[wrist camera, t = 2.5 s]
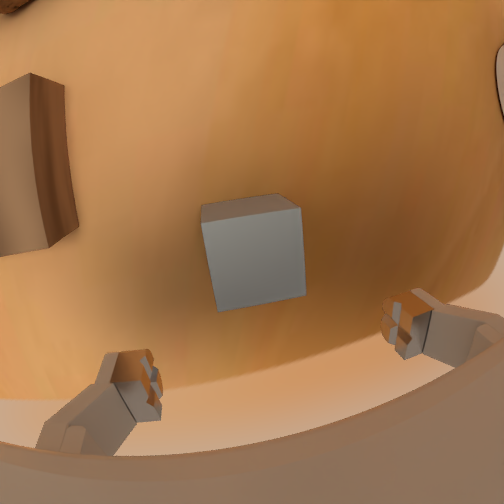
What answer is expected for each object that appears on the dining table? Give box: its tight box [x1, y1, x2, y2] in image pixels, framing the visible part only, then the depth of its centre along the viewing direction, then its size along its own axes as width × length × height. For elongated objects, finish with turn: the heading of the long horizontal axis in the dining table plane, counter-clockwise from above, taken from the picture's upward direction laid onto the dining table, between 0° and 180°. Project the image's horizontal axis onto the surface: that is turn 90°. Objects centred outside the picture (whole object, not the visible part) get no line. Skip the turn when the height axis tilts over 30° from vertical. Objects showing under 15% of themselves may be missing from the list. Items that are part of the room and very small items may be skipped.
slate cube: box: [201, 193, 306, 312], centre depth 18 cm, size 5×5×5 cm
